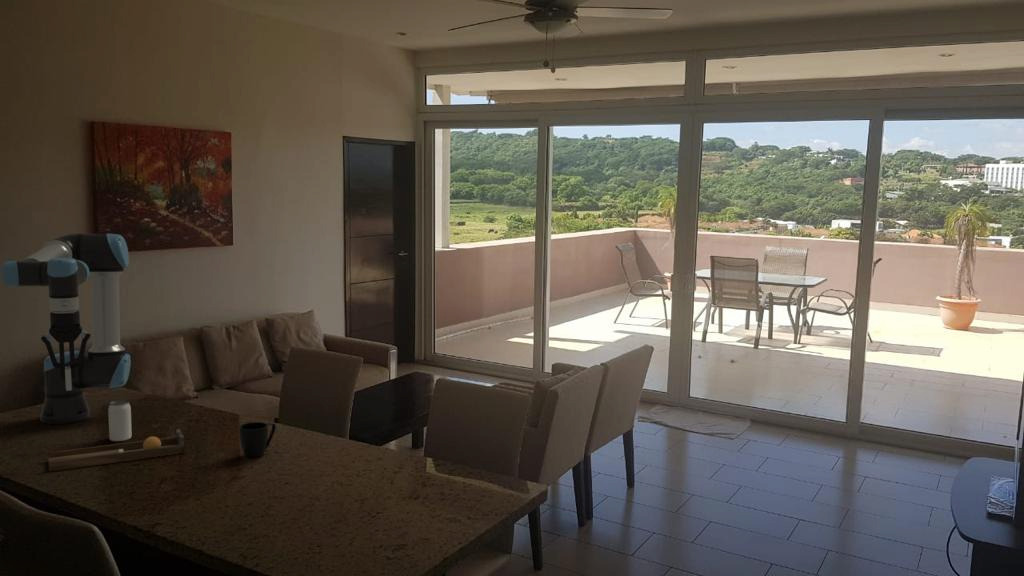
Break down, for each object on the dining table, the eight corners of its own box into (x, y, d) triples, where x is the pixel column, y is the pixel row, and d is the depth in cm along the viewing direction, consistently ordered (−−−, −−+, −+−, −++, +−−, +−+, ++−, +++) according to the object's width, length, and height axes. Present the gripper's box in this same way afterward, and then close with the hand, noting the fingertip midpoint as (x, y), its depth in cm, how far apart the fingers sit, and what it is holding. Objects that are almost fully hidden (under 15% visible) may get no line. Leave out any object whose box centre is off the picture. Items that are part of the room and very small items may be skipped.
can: (125, 442, 251) (124, 405, 249) (105, 441, 251) (104, 404, 250) (135, 436, 257) (134, 400, 256) (115, 435, 257) (114, 399, 256)
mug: (283, 452, 245) (283, 422, 244) (251, 462, 235) (250, 431, 234) (267, 446, 250) (266, 417, 248) (234, 456, 240) (233, 426, 239)
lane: (48, 460, 232) (48, 444, 231) (179, 444, 250) (179, 428, 250) (48, 471, 223) (48, 454, 223) (184, 453, 242) (184, 437, 241)
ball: (158, 432, 243) (160, 448, 244) (141, 436, 240) (142, 451, 241) (161, 438, 239) (163, 453, 240) (143, 441, 236) (145, 457, 237)
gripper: (38, 314, 223) (43, 395, 226) (90, 311, 230) (94, 390, 233) (38, 310, 229) (43, 388, 233) (89, 307, 236) (93, 383, 239)
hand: (68, 389), depth 233 cm, fingers closed
